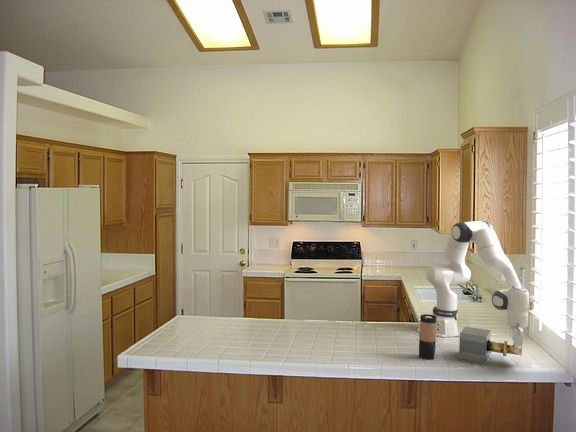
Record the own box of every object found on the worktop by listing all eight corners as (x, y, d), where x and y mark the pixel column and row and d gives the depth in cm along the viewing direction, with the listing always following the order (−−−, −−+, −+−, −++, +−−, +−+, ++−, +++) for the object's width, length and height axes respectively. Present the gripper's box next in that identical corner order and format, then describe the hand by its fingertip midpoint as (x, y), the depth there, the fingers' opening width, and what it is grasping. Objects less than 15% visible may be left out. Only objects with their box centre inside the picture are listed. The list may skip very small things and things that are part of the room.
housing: (458, 359, 253) (460, 332, 252) (463, 352, 265) (465, 326, 264) (485, 364, 247) (486, 336, 246) (489, 356, 259) (490, 330, 259)
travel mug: (432, 354, 259) (434, 314, 258) (436, 360, 251) (439, 318, 250) (416, 354, 258) (418, 314, 257) (420, 359, 251) (422, 317, 250)
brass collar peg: (485, 354, 250) (486, 340, 250) (487, 350, 256) (488, 336, 256) (520, 360, 243) (521, 345, 243) (521, 356, 249) (522, 341, 249)
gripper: (527, 327, 236) (525, 358, 236) (522, 317, 255) (520, 345, 256) (512, 326, 237) (510, 356, 238) (508, 315, 257) (506, 343, 258)
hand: (515, 350), depth 247 cm, fingers closed on brass collar peg, 4 cm apart
